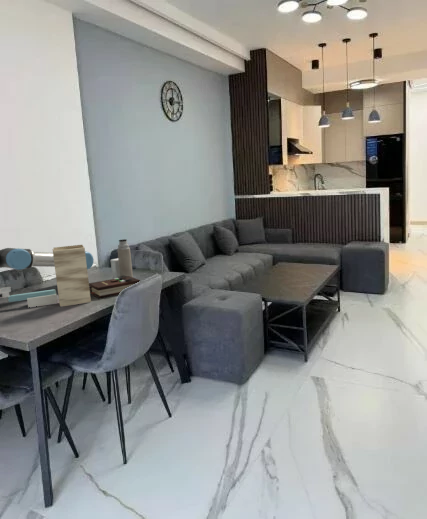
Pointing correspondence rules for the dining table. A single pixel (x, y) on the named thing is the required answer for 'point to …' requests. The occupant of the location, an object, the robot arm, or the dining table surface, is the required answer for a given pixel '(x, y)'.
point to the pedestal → (71, 275)
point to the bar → (30, 295)
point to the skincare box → (115, 268)
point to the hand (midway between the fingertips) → (10, 291)
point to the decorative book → (111, 286)
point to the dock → (42, 300)
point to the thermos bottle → (124, 258)
